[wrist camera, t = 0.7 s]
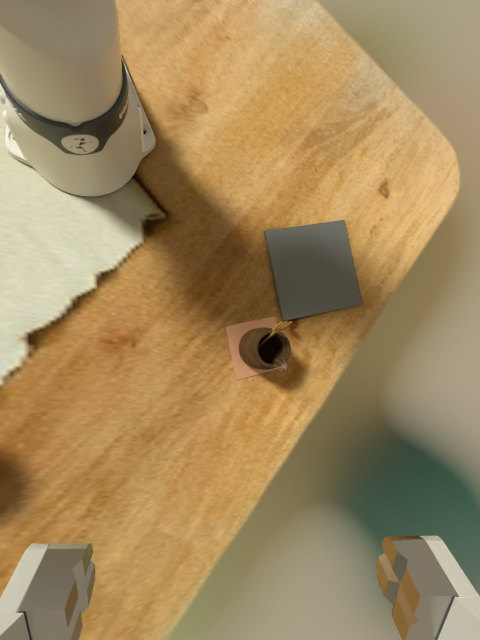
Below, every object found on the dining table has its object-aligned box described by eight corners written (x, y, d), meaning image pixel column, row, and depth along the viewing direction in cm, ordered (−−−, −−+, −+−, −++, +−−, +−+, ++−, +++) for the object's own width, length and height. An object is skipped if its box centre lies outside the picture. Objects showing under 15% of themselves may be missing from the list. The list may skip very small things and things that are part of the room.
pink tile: (225, 326, 52) (225, 326, 52) (274, 316, 54) (275, 315, 54) (236, 379, 52) (236, 379, 52) (285, 367, 54) (286, 367, 54)
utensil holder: (238, 370, 52) (266, 377, 40) (236, 327, 52) (262, 322, 41) (276, 366, 54) (313, 373, 42) (273, 325, 54) (309, 320, 42)
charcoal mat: (263, 232, 55) (265, 230, 54) (342, 221, 58) (344, 220, 58) (282, 321, 54) (284, 320, 54) (359, 304, 58) (362, 304, 58)
